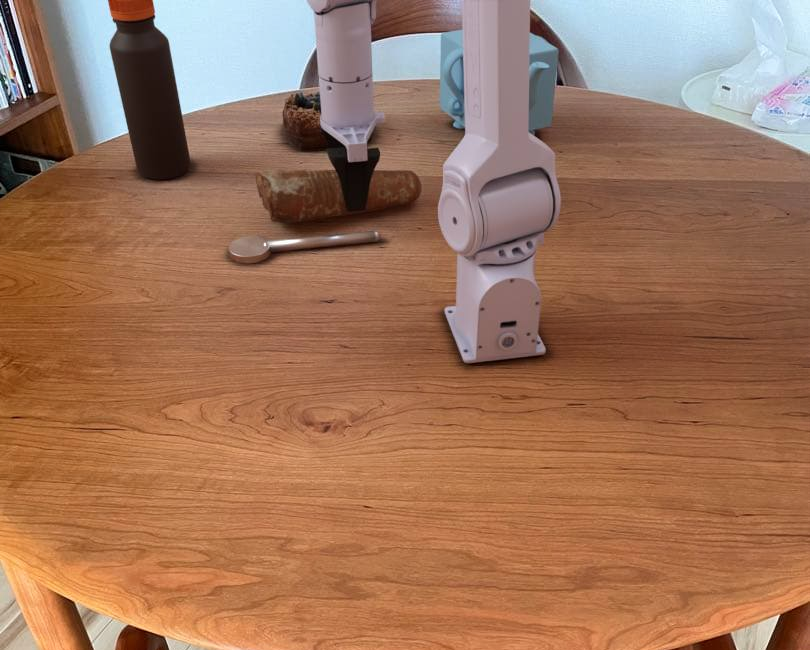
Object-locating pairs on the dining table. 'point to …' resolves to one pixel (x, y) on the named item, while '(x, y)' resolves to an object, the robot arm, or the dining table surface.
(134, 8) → the bottle
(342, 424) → the dining table surface
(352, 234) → the spoon
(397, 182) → the brown wooden log
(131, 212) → the dining table surface
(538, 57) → the teapot
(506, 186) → the robot arm
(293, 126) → the pastry
